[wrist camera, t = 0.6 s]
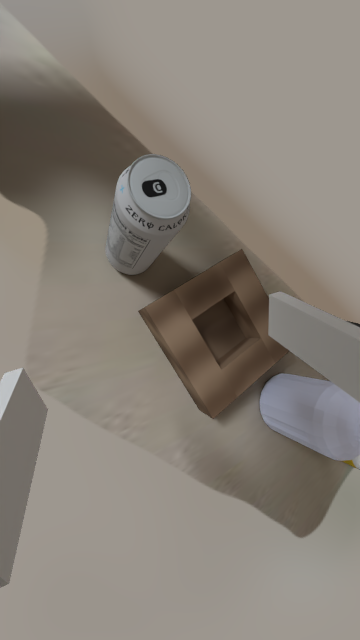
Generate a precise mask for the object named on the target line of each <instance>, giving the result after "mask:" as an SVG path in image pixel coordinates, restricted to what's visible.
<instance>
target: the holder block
mask: <svg viewBox="0 0 360 640" xmlns="http://www.w3.org/2000/svg"><path fill="white" fill-rule="evenodd" d="M138 312H139V313H140V315H141V317H142V318H143V320H144V321H145V323H146V325H147V326H148V328H149V329H150V331H151V333H152V334H153V336H154V338H155V339H156V341H157V342H158V344H159V346H160V347H161V349H162V350H163V352H164V354H165V355H166V357H167V358H168V360H169V362H170V363H171V365H172V367H173V368H174V370H175V371H176V373H177V375H178V376H179V378H180V379H181V381H182V383H183V384H184V386H185V387H186V389H187V391H188V392H189V394H190V396H191V397H192V399H193V400H194V402H195V404H196V405H197V407H198V408H199V410H200V411H202V412H203V413H205V414H207V415H208V416H210V417H211V418H213V419H214V418H215V417H216V416H217V415H218V414H219V413H220V412H221V411H223V410H224V409H225V408H226V407H227V406H228V405H229V404H230V403H232V402H233V401H234V400H235V399H236V398H237V397H238V396H239V395H241V394H242V393H243V392H244V391H245V390H246V389H247V388H248V387H250V386H251V385H252V384H253V383H254V382H255V381H256V380H257V379H259V378H260V377H261V376H262V375H263V374H264V373H265V372H266V371H268V370H269V369H270V368H271V367H272V366H273V365H274V364H275V363H277V362H278V361H279V360H280V359H281V358H282V357H283V356H284V355H286V354H287V353H288V352H289V350H288V349H286V348H285V347H284V346H282V345H281V344H280V343H278V342H277V341H276V340H274V339H273V338H272V337H270V336H269V335H268V328H269V298H268V296H267V295H266V293H265V291H264V289H263V287H262V285H261V283H260V282H259V280H258V278H257V276H256V274H255V272H254V270H253V268H252V267H251V265H250V263H249V261H248V259H247V257H246V255H245V254H244V252H243V250H242V249H241V250H239V251H238V252H236V253H234V254H233V255H231V256H229V257H228V258H226V259H224V260H222V261H221V262H219V263H218V264H216V265H214V266H213V267H211V268H209V269H208V270H206V271H204V272H203V273H201V274H199V275H198V276H196V277H194V278H193V279H191V280H189V281H188V282H186V283H184V284H183V285H181V286H179V287H178V288H176V289H174V290H173V291H171V292H169V293H168V294H166V295H164V296H163V297H161V298H159V299H158V300H156V301H154V302H153V303H151V304H149V305H148V306H146V307H144V308H143V309H141V310H139V311H138Z"/></svg>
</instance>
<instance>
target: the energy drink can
mask: <svg viewBox="0 0 360 640" xmlns="http://www.w3.org/2000/svg"><path fill="white" fill-rule="evenodd" d="M190 199H191V188H190V184H189V181H188V178H187V176H186V175H185V173H184V172H183V170H182V169H181V168H180V167H179V166H178V165H177V164H176V163H175V162H174V161H172V160H170V159H169V158H167V157H164V156H161V155H156V154H148V155H144V156H142V157H140V158H138V159H137V160H135V161H134V162H133V164H132V165H131V166H129V167H128V168H127V169H125V170H124V171H123V172H122V174H121V175H120V177H119V179H118V182H117V186H116V191H115V197H114V203H113V208H112V214H111V219H110V225H109V231H108V236H107V242H106V255H107V258H108V260H109V262H110V263H111V265H112V266H113V267H114V268H115V269H117V270H118V271H120V272H122V273H125V274H129V275H135V274H139V273H142V272H144V271H145V270H147V268H148V267H149V266H150V265H151V264H152V263H153V261H154V260H155V259H156V258H157V257H158V255H159V254H160V253H161V252H162V251H163V249H164V248H165V247H166V246H167V245H168V243H169V242H170V241H171V240H172V239H173V237H174V236H175V235H176V234H177V233H178V231H179V230H180V229H181V228H182V227H183V225H184V224H185V222H186V220H187V218H188V215H189V209H190Z"/></svg>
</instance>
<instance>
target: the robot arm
mask: <svg viewBox="0 0 360 640" xmlns="http://www.w3.org/2000/svg"><path fill="white" fill-rule="evenodd" d="M268 335H269V336H270V337H272V338H273V339H274V340H276V341H277V342H278V343H280V344H281V345H282V346H284V347H285V348H286V349H288V350H289V351H291V352H292V353H293V354H295V355H296V356H297V357H299V358H300V359H301V360H303V361H304V362H305V363H307V364H308V365H309V366H311V367H312V368H314V369H315V370H316V371H318V372H319V373H320V374H322V375H323V376H324V377H326V378H327V379H328V380H330V381H331V382H332V383H334V384H335V385H337V386H338V387H339V388H341V389H342V390H343V391H345V392H346V393H347V394H349V395H350V396H351V397H353V398H354V399H355V400H357V401H358V402H359V403H360V324H358V323H353V322H349V321H345V320H343V319H340V318H338V317H336V316H334V315H332V314H329V313H327V312H325V311H323V310H321V309H318V308H316V307H314V306H312V305H310V304H307V303H305V302H303V301H301V300H299V299H297V298H294V297H292V296H290V295H288V294H286V293H283V292H281V291H280V292H276V293H273V294H270V295H269V328H268ZM47 411H48V409H47V407H46V405H45V404H44V402H43V400H42V399H41V397H40V395H39V394H38V392H37V390H36V388H35V387H34V385H33V383H32V382H31V380H30V378H29V377H28V375H27V373H26V372H25V370H24V368H20V369H17V370H14V371H10V372H7V373H5V374H4V376H3V378H2V380H1V382H0V588H1V587H3V586H5V585H7V584H9V581H10V577H11V572H12V567H13V563H14V559H15V554H16V550H17V545H18V541H19V537H20V532H21V527H22V522H23V519H24V514H25V509H26V505H27V501H28V496H29V492H30V487H31V483H32V478H33V473H34V469H35V465H36V460H37V456H38V451H39V447H40V442H41V438H42V433H43V429H44V424H45V420H46V415H47Z"/></svg>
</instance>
